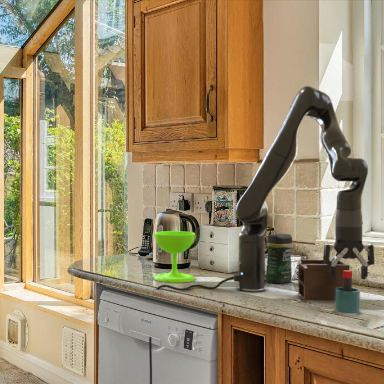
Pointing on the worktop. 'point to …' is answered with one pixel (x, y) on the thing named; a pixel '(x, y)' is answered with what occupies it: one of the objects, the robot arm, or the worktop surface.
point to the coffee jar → (279, 258)
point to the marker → (347, 280)
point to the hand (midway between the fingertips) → (348, 278)
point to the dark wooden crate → (319, 280)
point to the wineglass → (174, 253)
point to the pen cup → (347, 300)
